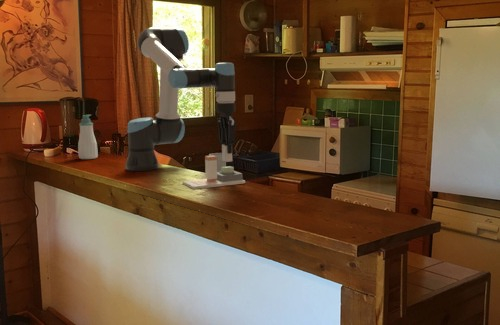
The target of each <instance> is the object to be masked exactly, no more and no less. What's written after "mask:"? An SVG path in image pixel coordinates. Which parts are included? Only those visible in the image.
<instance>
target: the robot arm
mask: <svg viewBox="0 0 500 325" xmlns="http://www.w3.org/2000/svg"><path fill="white" fill-rule="evenodd" d="M189 47H190V44H189V39H188V35H187V33H186V32H185V31H184V29H182V28H181V27H180V28H179V27H165V26H164V27H157V26H155V27H153V26H151V27H147V28H145V29H144V30H142V31H141V32H140V33H139V35H138V38H137V48H138V50H139V51H140V54H142V55H143V56H144V57H146V58H149V59H151V61H152V62H153V63H154V64H156V66H158V67H159V68H160V71H159V72H160V73H159V99H158V100H159V102H158V112H157V113H156V114H155V119H154V118H153V117H150V116H148V117H147V116H146V117H138V118H136V119H131V120H129V122H127V131H126V132H127V142H128V155H127V158H126V162H125V169H126V170H127V171H131V172H145V171H146V172H147V171H153V170H157V169H159V167H160V166H159V165H160V163H159V160H158V158H157V155H156V152H155V146H157V145H166V144H170V145H171V144H176V143H179V142H181V140H183V137H184V136H185V132H186V130H185V128H186V126H185V122H184V119H182V118H181V115H180V113H178V108H179V107H178V106H179V104H178V102H179V89H181V90H182V89H192V88H193V89H195V88H215V98H216V100H215V101H216V102H217V103H216V107H215V108H216V113H219V117H217V118H216V120H217V128H218V130H217V131H218V142H219V143H220V144H221V153H222V161H225V162H226V163H229V162H233V145H235V144H236V142H235V141H236V125H237V124H236V123H237V122H236V119H233V113H235V112H236V103H235V101H236V87H235V86H236V81H235V80H236V77H235V76H236V73H235V65H234V63H233V62H218V63H215V65H214V67H215V68H210V67H209V68H207V67H205V68H188V67H186V65H184V64H183V63H182V62H181V61H182V60H183V59H184V55H186V54H187V52H188V51H189Z"/></svg>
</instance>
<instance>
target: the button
mask: <svg viewBox="0 0 500 325" xmlns="http://www.w3.org/2000/svg"><path fill="white" fill-rule="evenodd" d="M234 169H235V167H234V166H231V165H229V166H227V165H226V167H221V174H223V175H227V174H234V171H235V170H234Z"/></svg>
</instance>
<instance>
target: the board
mask: <svg viewBox="0 0 500 325" xmlns="http://www.w3.org/2000/svg"><path fill="white" fill-rule="evenodd" d="M243 178H244V177H243V173H241V172H239V171H236V170H234V174H227V175H223V174H221V172H217V179H216V181H215V182H208V181H207V178H202V179H195V180H194V179H193V180H186V181H185V180H184V181H182V184H183V185H184V186H186V187H188V188H190V189H192V190H198V189H207V188H216V187H224V186H232V185H233V186H234V185H242V184H246V180H244V179H243Z"/></svg>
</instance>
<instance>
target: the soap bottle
mask: <svg viewBox="0 0 500 325" xmlns="http://www.w3.org/2000/svg"><path fill="white" fill-rule="evenodd" d="M91 116H92V114H84V115H82V118H81V122H80V123H78V125H79V137H78V138H79V139H78V141H77V142H78V143H77V144H78V145H77V152H78V158H79V159H80V160H94V159H95V160H96V159H97V158H98V156H99V154H98V153H99V152H98V143H97V140H96V136H95V133H94V123H93V122H92V121H91V118H90V117H91Z"/></svg>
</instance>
